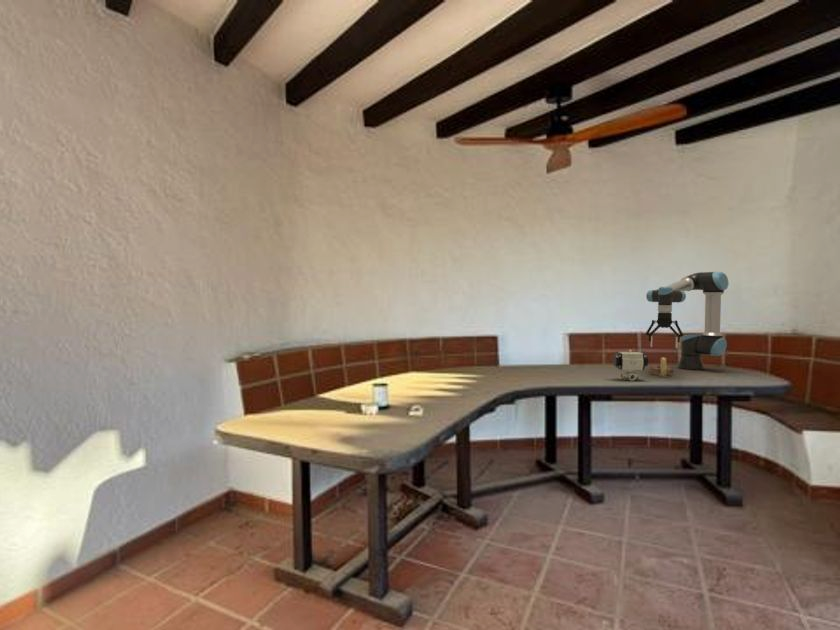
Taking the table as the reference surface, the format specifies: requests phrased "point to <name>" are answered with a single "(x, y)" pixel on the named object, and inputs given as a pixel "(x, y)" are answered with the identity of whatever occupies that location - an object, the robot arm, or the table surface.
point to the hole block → (656, 370)
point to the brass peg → (663, 367)
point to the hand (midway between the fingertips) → (663, 347)
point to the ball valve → (630, 363)
